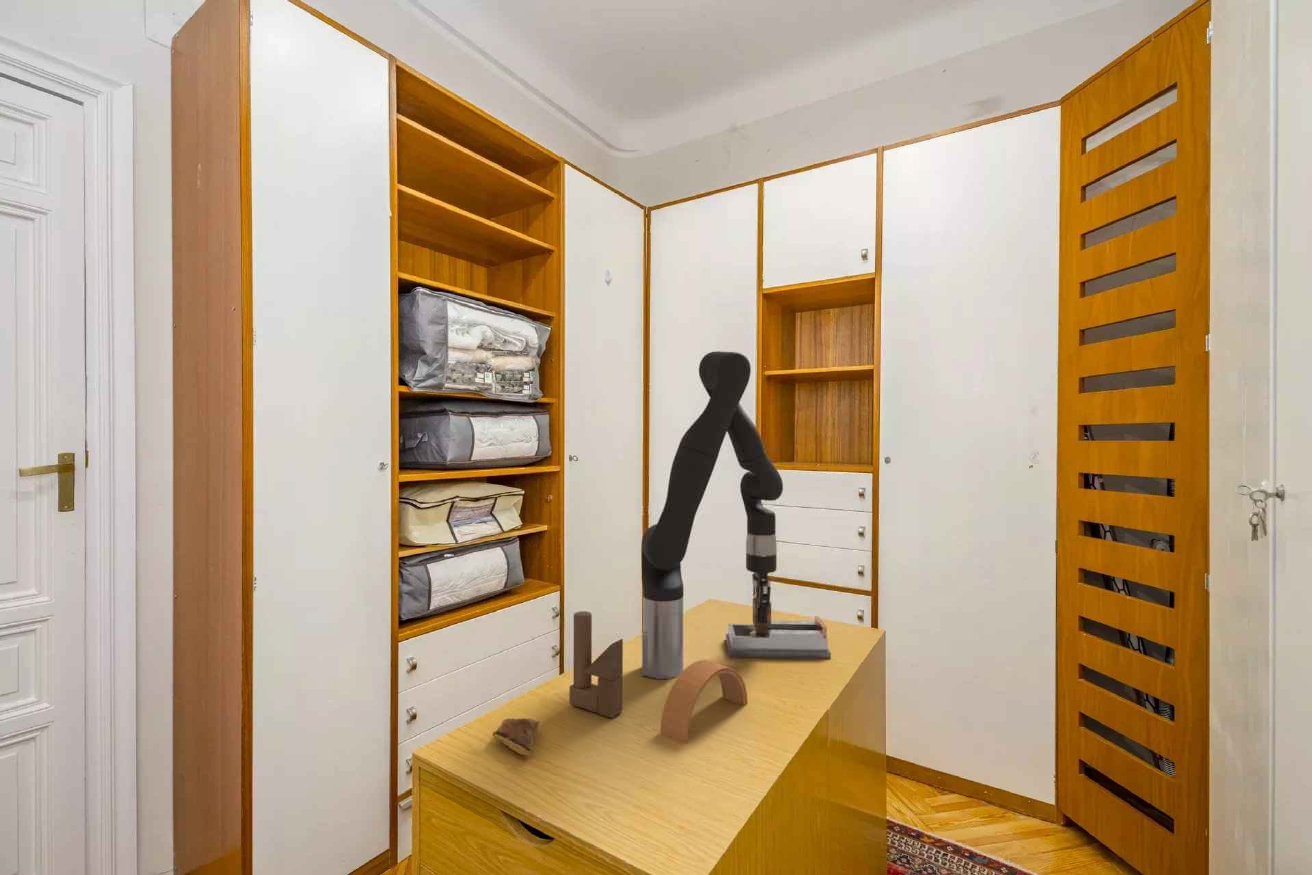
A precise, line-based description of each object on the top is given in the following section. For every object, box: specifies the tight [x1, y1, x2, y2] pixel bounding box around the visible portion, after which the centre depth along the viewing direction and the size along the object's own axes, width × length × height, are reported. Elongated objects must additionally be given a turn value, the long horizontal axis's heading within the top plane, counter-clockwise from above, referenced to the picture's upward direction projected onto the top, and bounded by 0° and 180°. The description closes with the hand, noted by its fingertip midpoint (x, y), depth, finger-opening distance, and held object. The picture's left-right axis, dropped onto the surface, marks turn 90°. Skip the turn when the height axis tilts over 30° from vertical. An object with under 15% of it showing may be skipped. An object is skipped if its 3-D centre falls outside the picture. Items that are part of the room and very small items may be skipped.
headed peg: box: [750, 597, 772, 636], centre depth 145 cm, size 6×6×10 cm
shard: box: [492, 718, 540, 758], centre depth 100 cm, size 11×8×2 cm
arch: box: [660, 659, 749, 744], centre depth 110 cm, size 6×20×10 cm, turn 138°
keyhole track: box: [725, 615, 832, 660], centre depth 145 cm, size 24×12×7 cm, turn 88°
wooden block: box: [568, 610, 624, 719], centre depth 114 cm, size 4×11×18 cm, turn 57°
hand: (761, 619), depth 145 cm, fingers closed on headed peg, 4 cm apart
